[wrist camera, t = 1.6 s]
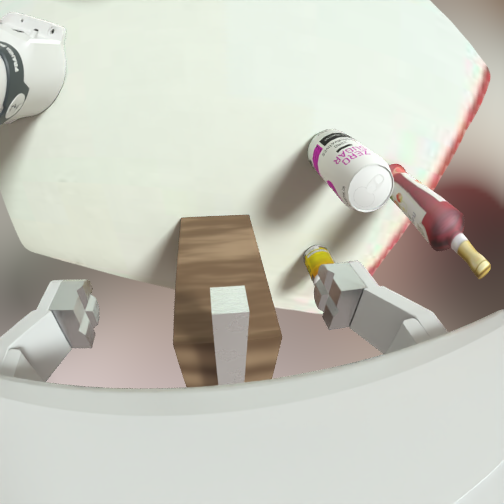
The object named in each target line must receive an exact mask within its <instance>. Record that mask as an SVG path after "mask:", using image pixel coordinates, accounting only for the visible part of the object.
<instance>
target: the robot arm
mask: <svg viewBox="0 0 504 504" xmlns="http://www.w3.org/2000/svg"><path fill="white" fill-rule="evenodd" d="M53 30H55V31H54V33H53V34H52V31H53ZM65 37H66V29H65V27H63V26H61V25H58V24H55V23H52V22H49V21H45V20H42V19H39V18H36V17H32V16H29V15H25V14H21V13H17V12H9V13H7V14H6V15H5V16H4V17H3V18H1V20H0V125H1V124H3V123H6V124H9V123H12V122H14V121H15V120H17V119H18V118H21V117H28V116H34V115H37V114H39V113H41V112H42V111H44V110H45V109H46V108H48V107H49V106H50V105H51V104H52V102H53V101H54V100H55V99H56V97H57V95H58V94H59V92H60V90H61V88H62V85H63V82H64V79H65V74H66V56H65V51H64V42H65ZM318 276H319V277H320V279H319V280H318V281H317V282H316V283H315V288H314V299H315V303H316V305H317V307H318V309H320V310H322V311H323V312H324V313H323V316H322V317H323V319H324V321H325V323H326V325H327V327H328V329H329V330H331V329H338V328H345V327H350V329H352V330H353V331H354V332H356V333H357V334H358V335H360V336H361V337H362V338H363V339H365V340H366V341H368V342H369V343H370V344H371V345H373V346H374V347H375V348H376V349H378V350H379V351H380V352H382V353H383V355H380V356H377V357H373V358H369V359H365V360H361V361H358V362H354V363H350V364H345V365H341V366H337V367H332V368H328V369H323V370H318V371H313V372H308V373H303V374H298V375H293V376H287V377H280V378H274V379H267V380H260V381H253V382H244V383H236V384H226V385H215V386H202V387H186V388H156V389H133V388H132V389H131V388H129V389H128V388H102V387H85V386H74V385H64V384H55V383H47V382H46V381H47V380H48V378H49V377H50V376H51V374H52V373H53V372H54V371H55V369H56V368H57V367H58V366H59V364H60V363H61V362H62V360H63V359H64V358H65V357H66V355H67V354H68V353H69V352H70V351H71V348H92V345H93V341H94V337H95V332H94V330H93V328H94V327H95V326H97V325H98V321H99V306H98V302H97V299H96V298H95V297H94V296H93V295H91V292H92V289H93V288H92V286H91V283H90V281H88V280H53V281H51V282H50V284H49V286H48V287H47V289H46V291H45V293H44V295H43V297H42V299H41V301H40V303H39V305H38V308H37V309H36V310H33V311H31V312H30V313H29V314H28V315H26V316H25V317H24V318H23V319H21V321H19V322H18V323H17V324H15V325H14V326H13V327H12V328H11V329H10V330H8V331H7V332H6V333H5V334H4V335H2V336H1V337H0V504H504V310H500V311H497V312H495V313H493V314H491V315H489V316H487V317H484V318H482V319H480V320H478V321H475V322H473V323H471V324H468V325H466V326H464V327H461V328H459V329H456V330H454V331H452V332H449V333H448V331H447V330H446V329H445V327H444V326H443V325H442V324H441V322H440V321H439V320H438V318H437V317H436V316H435V314H434V313H433V312H432V311H430V310H428V309H426V308H424V307H422V306H420V305H418V304H416V303H415V302H413V301H411V300H409V299H407V298H405V297H403V296H401V295H399V294H397V293H395V292H394V291H391V290H390V289H388V288H386V287H383V286H379V285H378V284H377V283H376V281H375V280H374V279H373V277H372V276H371V275H370V274H369V272H368V271H367V270H366V269H365V267H364V266H363V265H362V264H361V262H359V261H349V262H344V263H333V264H322V265H320V267H319V270H318Z"/></svg>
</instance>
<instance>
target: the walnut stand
mask: <svg viewBox="0 0 504 504" xmlns="http://www.w3.org/2000/svg"><path fill="white" fill-rule="evenodd" d="M229 286H245V291H246V296H247V301H248V306H249V326H248V339H247V353H246V367H245V380H244V382H253V381H260V380H267V379H272V376H273V372H274V368H275V364H276V360H277V356H278V352H279V348H280V344H281V340H282V334H281V330H280V326H279V323H278V319H277V316H276V312H275V308H274V304H273V301H272V297H271V293H270V290H269V286H268V282H267V279H266V275H265V271H264V268H263V264H262V260H261V257H260V253H259V249H258V246H257V242H256V239H255V235H254V231H253V228H252V224H251V220H250V217H249V215H229V216H206V217H187V218H181V226H180V236H179V247H178V259H177V272H176V288H175V306H174V307H175V308H174V335H173V345H174V349H175V352H176V355H177V359H178V362H179V365H180V368H181V371H182V375H183V378H184V381H185V384H186V387H202V386H215V385H218V376H217V367H216V357H215V346H214V335H213V323H212V310H211V296H210V288H212V287H229Z"/></svg>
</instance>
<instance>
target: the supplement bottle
mask: <svg viewBox="0 0 504 504" xmlns="http://www.w3.org/2000/svg"><path fill="white" fill-rule="evenodd" d="M304 262H305V265H306V267H307V269H308V272H309V274H310V276H311V279H312V281H313V283H314V286H315V283H316V282H317V281H318V280H319V279H320V277H319V276H318V270H319V267H320V265H322V264H333V263H335V262H334V260H333V259H332V257H331V255H330V253H329V251H328V250H327V248H326V247H324V246H322V245H315V246H312V247H310V248H309V249H308V250H307V251H306V252H305V254H304Z"/></svg>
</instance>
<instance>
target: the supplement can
mask: <svg viewBox="0 0 504 504" xmlns="http://www.w3.org/2000/svg"><path fill="white" fill-rule="evenodd" d="M308 158H309V162H310V164H311V165H312V167H313V168H314V169H315V170H316V171H317V173H318V174H319V175H320V176H321V177H322V178H323V179H324V181H325V182H326V183H327V184H328V185H329V186H330V188H331V189H332V190H333V191H334V192H335V193H336V195H337V196H338V197H339V198H340V199H341V201H342V202H343V203H344V204H345V205H346V206H348V207H349V208H351V209H354V210H358V211H361V212H372V211H375V210H377V209H379V208H381V207H382V206H383V205H384V204H385V203H386V202H387V201H388V199H389V198H390V196H391V194H392V191H393V188H394V178H393V176H392V173H391V170H390V168H389V165H388V164H387V163H386V162H385V161H384V160H383V159H382V158H381V157H380V156H378V155H377V154H375V153H374V152H373V151H371V150H370V149H368V148H367V147H365V146H364V145H362V144H361V143H359V142H358V141H356V140H355V139H353V138H352V137H350V136H349V135H347V134H345V133H344V132H342V131H339V130H336V129H326V130H324V131H322V132H319V133H318V134H317V135H316V136H315V137H314V138H313V139H312V141H311V143H310V145H309V148H308Z"/></svg>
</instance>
